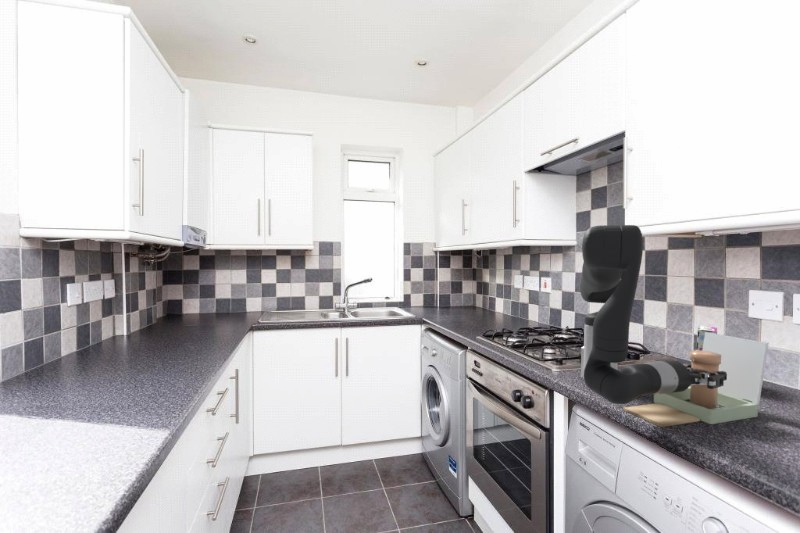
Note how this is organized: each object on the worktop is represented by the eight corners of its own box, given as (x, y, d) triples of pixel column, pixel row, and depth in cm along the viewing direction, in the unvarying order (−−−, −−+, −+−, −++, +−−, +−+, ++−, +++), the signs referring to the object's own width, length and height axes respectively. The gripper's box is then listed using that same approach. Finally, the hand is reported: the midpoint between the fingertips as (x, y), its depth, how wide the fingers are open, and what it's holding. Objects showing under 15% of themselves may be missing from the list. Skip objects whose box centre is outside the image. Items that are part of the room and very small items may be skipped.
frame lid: (696, 386, 106) (698, 332, 106) (705, 385, 107) (707, 331, 107) (756, 405, 93) (759, 343, 92) (766, 403, 94) (768, 342, 93)
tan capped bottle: (681, 404, 99) (684, 350, 99) (699, 402, 101) (701, 349, 101) (707, 414, 93) (709, 357, 93) (725, 411, 95) (727, 355, 95)
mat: (623, 409, 96) (623, 407, 96) (659, 405, 99) (659, 402, 99) (661, 427, 86) (661, 424, 86) (699, 420, 90) (699, 418, 90)
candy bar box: (715, 386, 115) (717, 331, 115) (694, 382, 118) (696, 329, 118) (715, 377, 124) (717, 326, 123) (696, 374, 127) (697, 324, 127)
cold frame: (653, 402, 101) (654, 390, 101) (697, 396, 106) (697, 385, 106) (710, 424, 88) (710, 411, 88) (757, 416, 93) (757, 404, 93)
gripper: (693, 370, 86) (745, 365, 91) (636, 354, 99) (684, 350, 104) (691, 403, 86) (743, 396, 91) (635, 382, 100) (682, 377, 105)
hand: (711, 372), depth 98 cm, fingers closed on tan capped bottle, 5 cm apart
